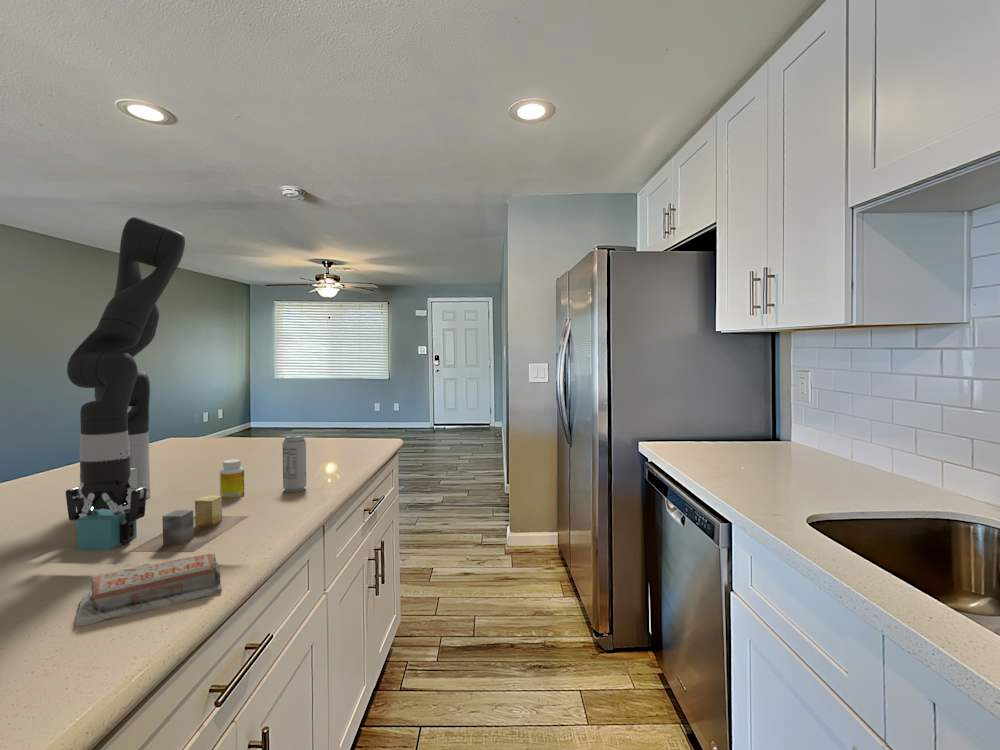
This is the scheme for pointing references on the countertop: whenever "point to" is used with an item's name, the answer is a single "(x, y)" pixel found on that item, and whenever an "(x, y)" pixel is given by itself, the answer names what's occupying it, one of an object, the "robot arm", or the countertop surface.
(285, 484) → the energy drink can
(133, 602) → the packaged product
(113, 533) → the teal block
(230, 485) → the supplement bottle
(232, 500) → the countertop surface
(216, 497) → the pale yellow block
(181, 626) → the countertop surface
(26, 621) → the countertop surface
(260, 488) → the countertop surface
